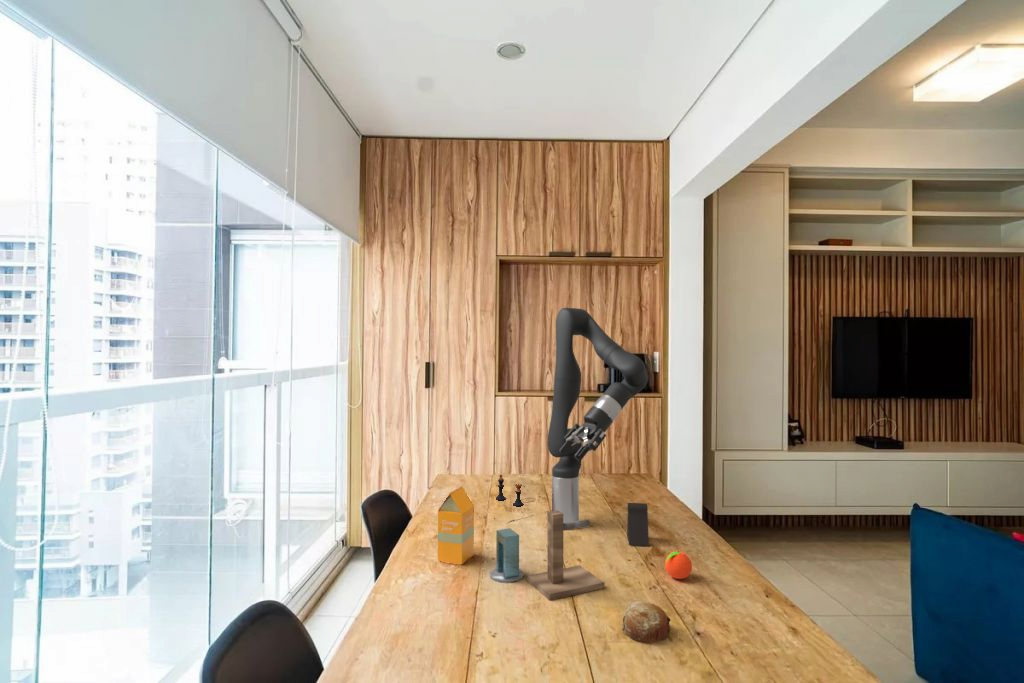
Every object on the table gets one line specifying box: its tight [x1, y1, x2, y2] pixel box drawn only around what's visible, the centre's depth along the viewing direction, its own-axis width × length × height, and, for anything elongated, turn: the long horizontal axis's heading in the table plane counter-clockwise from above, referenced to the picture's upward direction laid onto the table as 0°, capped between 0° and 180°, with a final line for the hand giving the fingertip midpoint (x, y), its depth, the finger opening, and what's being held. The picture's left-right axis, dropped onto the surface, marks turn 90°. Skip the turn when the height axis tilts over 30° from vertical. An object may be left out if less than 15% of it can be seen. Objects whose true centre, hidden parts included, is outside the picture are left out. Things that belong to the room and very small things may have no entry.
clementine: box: [664, 550, 693, 580], centre depth 144 cm, size 8×7×7 cm
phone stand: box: [626, 502, 650, 547], centre depth 172 cm, size 9×6×12 cm, turn 172°
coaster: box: [489, 568, 525, 584], centre depth 146 cm, size 9×9×1 cm
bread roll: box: [621, 600, 671, 644], centre depth 117 cm, size 10×10×8 cm
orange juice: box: [437, 486, 475, 565], centre depth 158 cm, size 8×9×20 cm
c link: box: [495, 527, 520, 579], centre depth 146 cm, size 6×4×11 cm, turn 25°
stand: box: [527, 510, 606, 601], centre depth 140 cm, size 12×16×19 cm
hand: (569, 456), depth 154 cm, fingers open, 8 cm apart
